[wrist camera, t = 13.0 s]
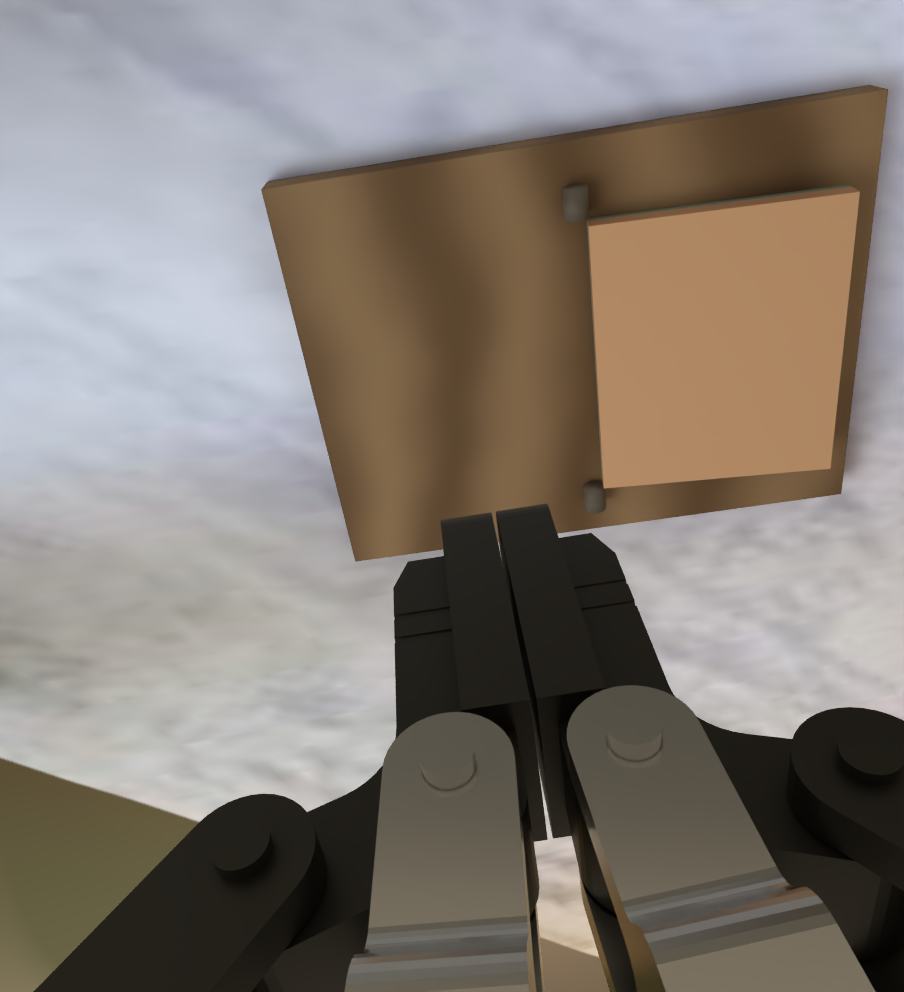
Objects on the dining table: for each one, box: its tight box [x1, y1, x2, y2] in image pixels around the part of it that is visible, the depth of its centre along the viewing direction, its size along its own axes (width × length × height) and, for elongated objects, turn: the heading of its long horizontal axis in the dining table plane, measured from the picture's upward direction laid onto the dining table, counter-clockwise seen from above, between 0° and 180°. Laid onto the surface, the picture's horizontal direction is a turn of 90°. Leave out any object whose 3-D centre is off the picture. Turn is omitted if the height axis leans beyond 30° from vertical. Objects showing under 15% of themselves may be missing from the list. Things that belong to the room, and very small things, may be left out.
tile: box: [586, 185, 860, 488], centre depth 36 cm, size 10×12×1 cm
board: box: [261, 85, 888, 561], centre depth 37 cm, size 24×18×3 cm
